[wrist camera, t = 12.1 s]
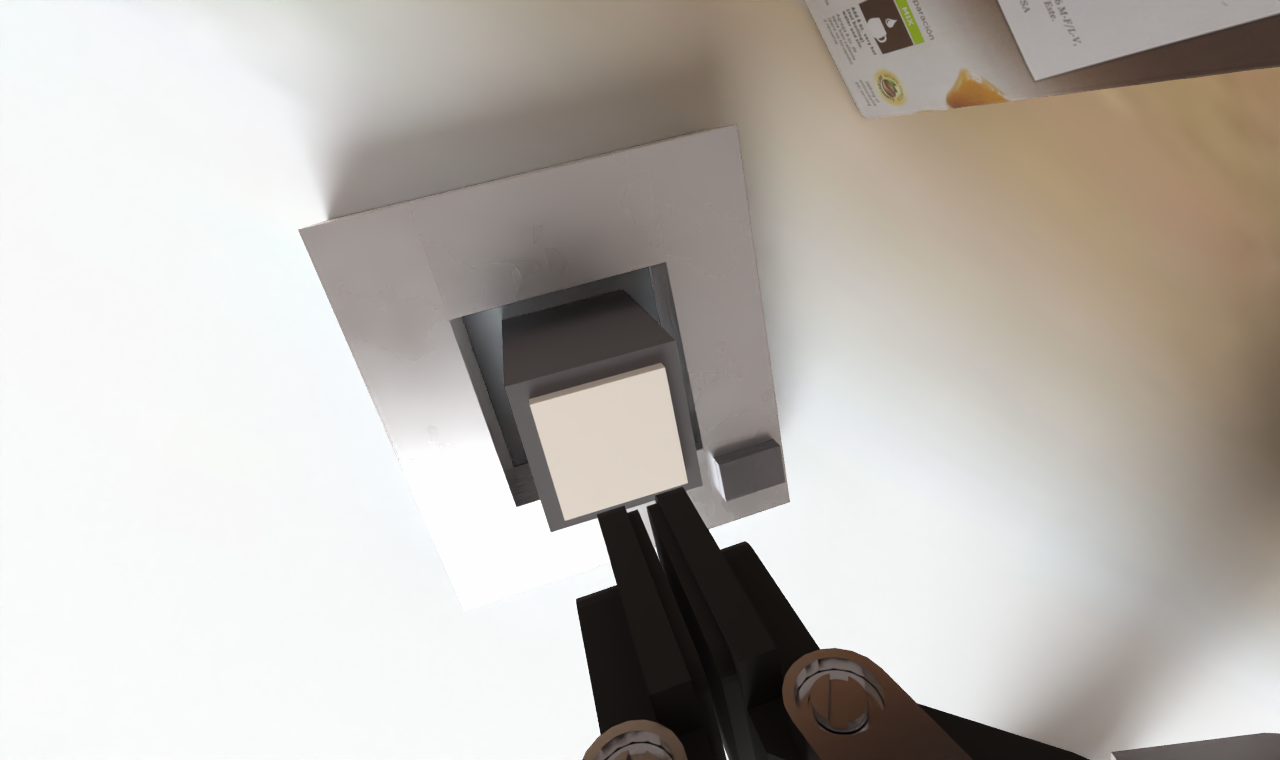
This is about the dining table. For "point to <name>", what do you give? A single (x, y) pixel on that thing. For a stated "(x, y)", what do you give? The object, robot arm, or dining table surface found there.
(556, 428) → the plug
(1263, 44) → the coffee box
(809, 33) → the dining table surface
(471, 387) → the socket plate
